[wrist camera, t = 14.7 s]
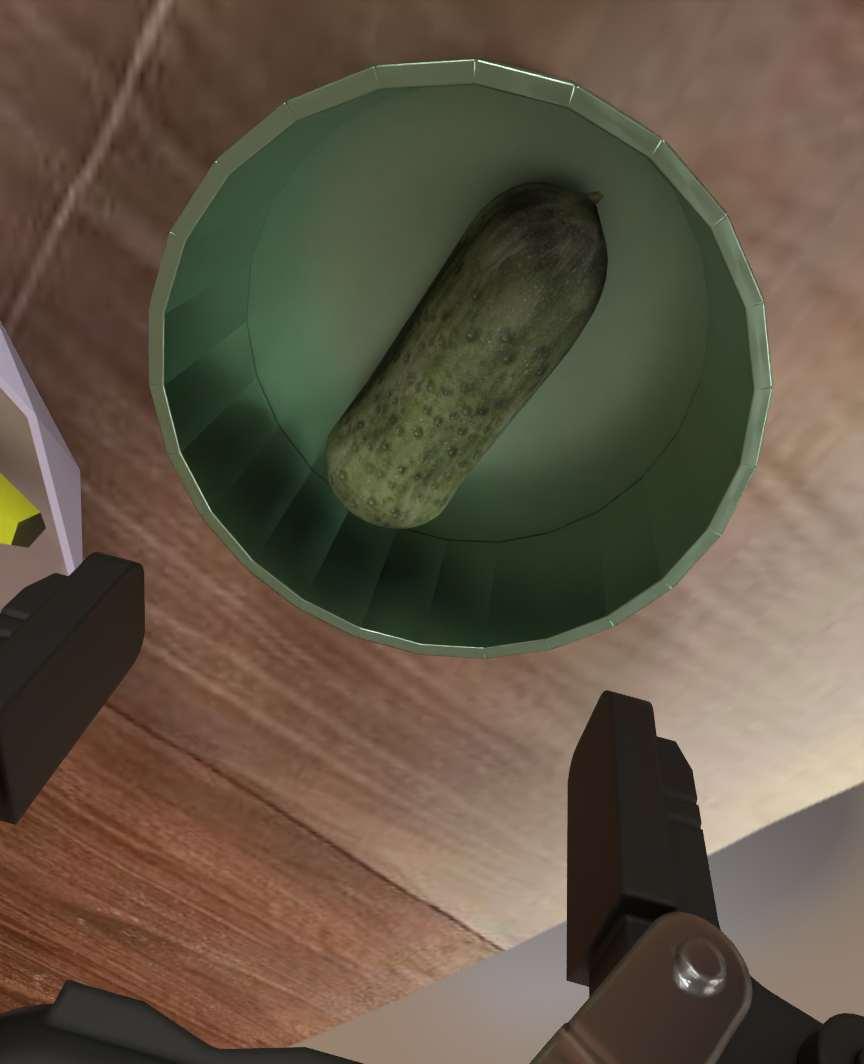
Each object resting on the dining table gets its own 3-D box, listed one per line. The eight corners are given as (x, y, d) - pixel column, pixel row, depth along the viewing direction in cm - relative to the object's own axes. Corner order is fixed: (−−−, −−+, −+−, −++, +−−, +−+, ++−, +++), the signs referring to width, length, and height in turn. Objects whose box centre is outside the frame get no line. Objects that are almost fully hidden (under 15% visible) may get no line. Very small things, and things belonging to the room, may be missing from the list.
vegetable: (425, 511, 32) (404, 578, 27) (322, 444, 31) (283, 503, 26) (653, 226, 24) (671, 258, 20) (527, 126, 23) (519, 138, 19)
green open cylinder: (817, 143, 23) (912, 169, 17) (617, 588, 33) (630, 711, 26) (260, 0, 23) (146, -25, 17) (227, 485, 33) (148, 582, 27)
